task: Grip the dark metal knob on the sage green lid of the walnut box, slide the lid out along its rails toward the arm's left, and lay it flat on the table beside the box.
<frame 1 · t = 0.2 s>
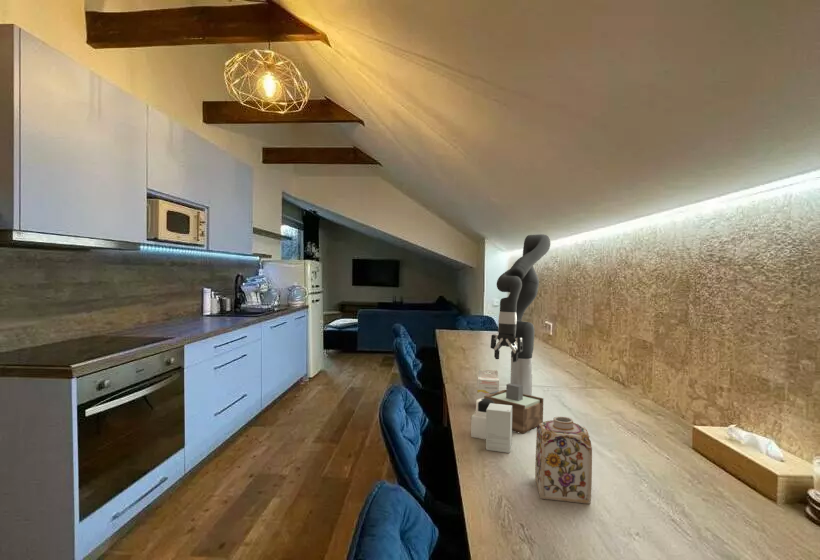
hand: (505, 360, 186), 17 cm above the table, tool pointing down, fingers open, 8 cm apart
ink cartridge box: (487, 407, 178), on the table
box: (513, 423, 158), on the table
supplement box: (498, 448, 135), on the table
medicine bottle: (484, 436, 145), on the table
decorative jar: (561, 491, 109), on the table
lid: (514, 401, 158), point 8 cm above the table, touching box
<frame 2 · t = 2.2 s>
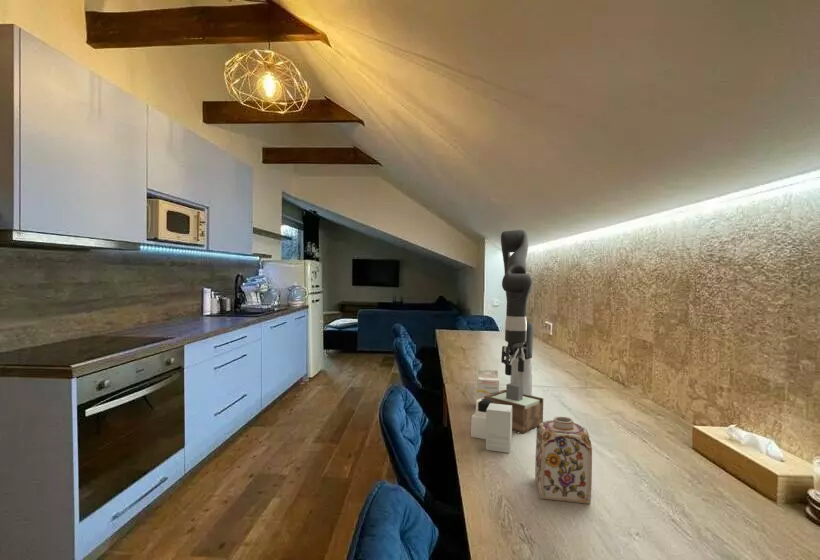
hand: (514, 373, 158), 18 cm above the table, tool pointing down, fingers open, 8 cm apart
nothing on the table moved.
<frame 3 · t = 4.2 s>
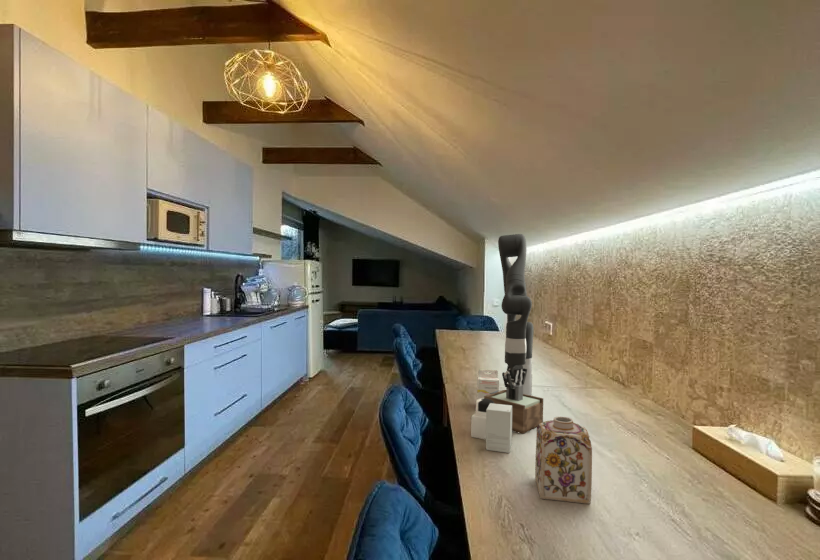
hand: (514, 397, 158), 9 cm above the table, tool pointing down, fingers closed on lid, 3 cm apart
lid: (514, 401, 158), point 8 cm above the table, touching box, gripper
everything else where it was.
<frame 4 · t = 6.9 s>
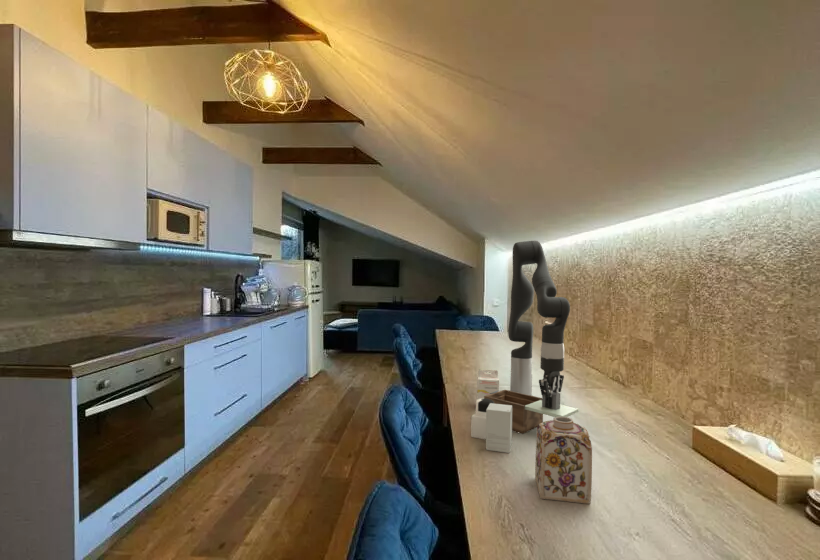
hand: (551, 406, 148), 9 cm above the table, tool pointing down, fingers closed on lid, 3 cm apart
lid: (550, 410, 148), point 8 cm above the table, touching gripper
everything else where it was.
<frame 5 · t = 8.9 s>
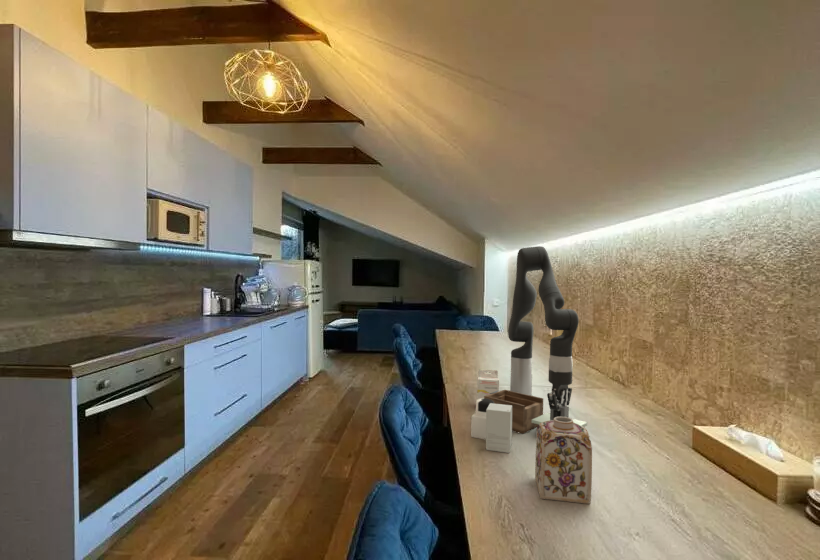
hand: (559, 420, 146), 6 cm above the table, tool pointing down, fingers closed on lid, 3 cm apart
lid: (559, 424, 146), point 4 cm above the table, touching gripper
everything else where it was.
when the fingers open (3 cm above the table, at t = 10.1 s): lid drops 2 cm, on the table.
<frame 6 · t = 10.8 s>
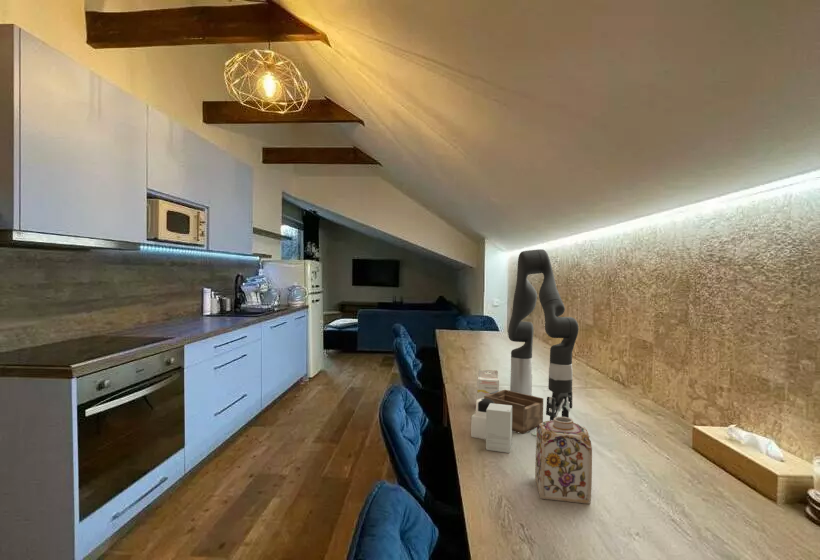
hand: (559, 424, 146), 4 cm above the table, tool pointing down, fingers open, 8 cm apart
lid: (558, 438, 146), on the table
everything else where it was.
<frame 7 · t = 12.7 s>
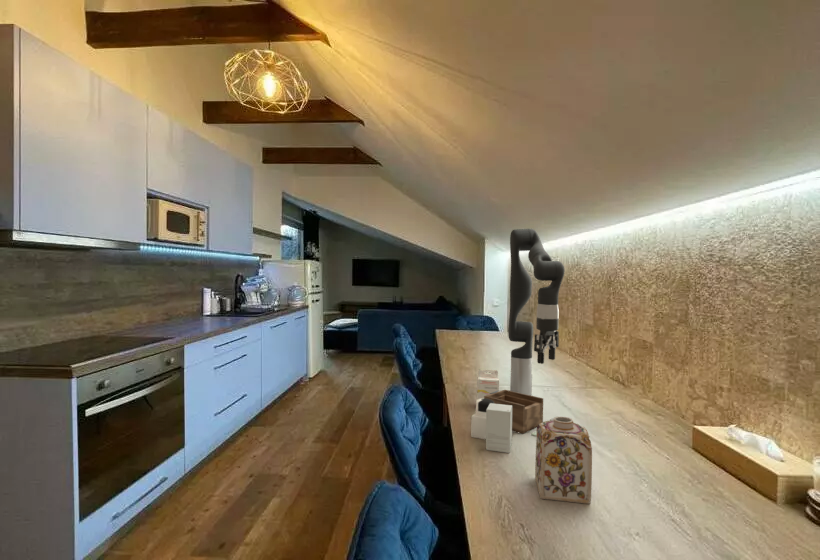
hand: (546, 361, 157), 23 cm above the table, tool pointing down, fingers open, 8 cm apart
nothing on the table moved.
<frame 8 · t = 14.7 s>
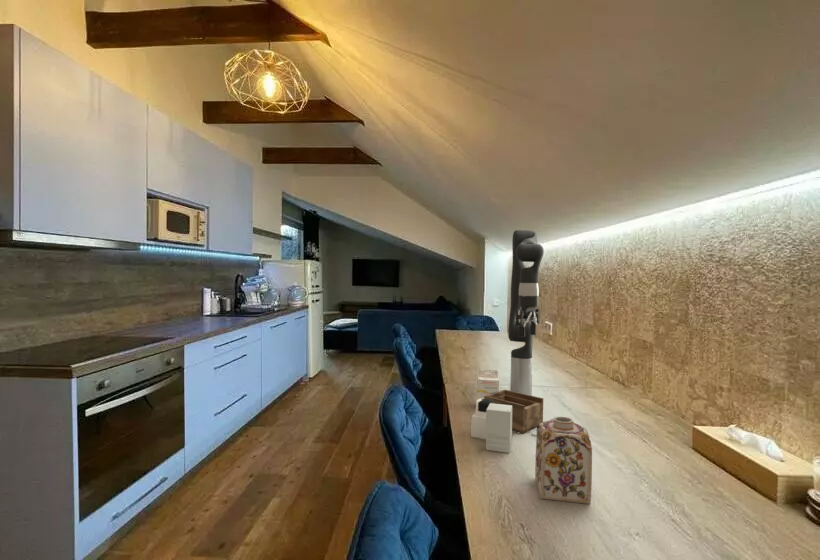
hand: (527, 335, 172), 30 cm above the table, tool pointing down, fingers open, 8 cm apart
nothing on the table moved.
at the end: lid inside the target area (0.1 cm from its centre), on the table; lid tilted 0°; the gripper is holding nothing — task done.
